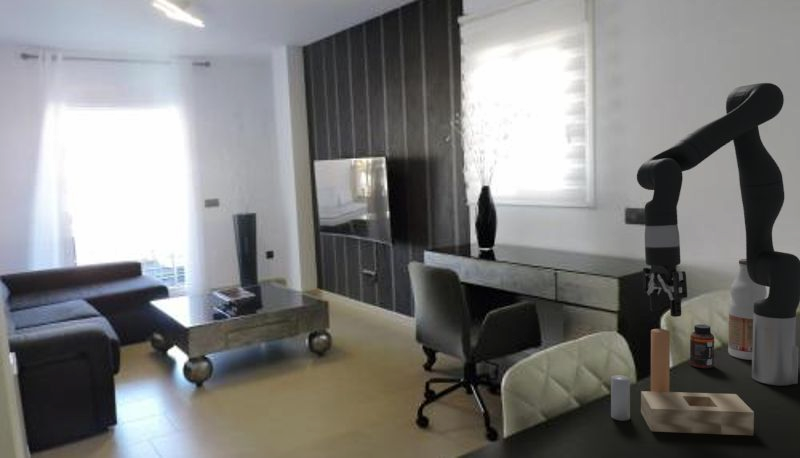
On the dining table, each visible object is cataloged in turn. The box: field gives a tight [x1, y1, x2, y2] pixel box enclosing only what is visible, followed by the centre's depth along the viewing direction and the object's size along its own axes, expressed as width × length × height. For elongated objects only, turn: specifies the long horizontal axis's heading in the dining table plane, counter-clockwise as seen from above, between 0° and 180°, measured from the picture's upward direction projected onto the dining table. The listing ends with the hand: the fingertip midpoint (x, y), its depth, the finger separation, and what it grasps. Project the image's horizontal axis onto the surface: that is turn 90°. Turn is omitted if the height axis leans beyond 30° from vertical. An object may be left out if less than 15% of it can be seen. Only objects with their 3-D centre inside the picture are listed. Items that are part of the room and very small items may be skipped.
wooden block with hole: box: [640, 390, 755, 436], centre depth 131 cm, size 20×10×5 cm, turn 80°
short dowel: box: [610, 374, 631, 422], centre depth 135 cm, size 4×4×9 cm
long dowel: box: [650, 328, 671, 392], centre depth 140 cm, size 4×4×18 cm
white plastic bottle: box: [727, 258, 768, 361], centre depth 172 cm, size 9×9×28 cm
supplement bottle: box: [689, 323, 715, 369], centre depth 166 cm, size 6×6×11 cm
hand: (665, 313), depth 141 cm, fingers open, 8 cm apart
